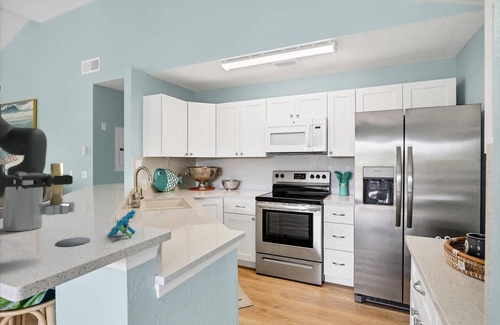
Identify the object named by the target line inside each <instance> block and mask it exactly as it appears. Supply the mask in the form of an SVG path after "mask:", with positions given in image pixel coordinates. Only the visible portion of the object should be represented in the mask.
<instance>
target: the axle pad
mask: <svg viewBox="0 0 500 325" xmlns="http://www.w3.org/2000/svg"><path fill="white" fill-rule="evenodd" d="M90 242H91V238H89V237H81V236H80V237H70V238H65V239H61V240H58V241H57V242H56V243H55V245H56V246H58V247H64V248H65V247H67V248H68V247H77V246H81V245H85V244H87V243H90Z"/></svg>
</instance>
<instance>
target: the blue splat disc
mask: <svg viewBox="0 0 500 325" xmlns="http://www.w3.org/2000/svg"><path fill="white" fill-rule="evenodd" d="M136 213H137V211H136V210H135V209H132V210H131V211H128V212H127V213H126V214H125V215H124V216H122V217H121V219H120V220H118V221H117V222H116V223H115V226H113V227H112V228H111V229H110V231H109V232H108V235H109V236H110V237H113V236H115V235H117V234H118V232H119V231H120V232H121V234H122V235H124V234H125V235H126V236H127V237H128V238H133V235H134V234H135V233H136V230H134V229H133V228H132V227H131V226H130V224H129V222H130V219H133V218H134V217H135V214H136ZM129 232H130V233H131V234H130V233H129Z"/></svg>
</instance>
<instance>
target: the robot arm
mask: <svg viewBox="0 0 500 325" xmlns="http://www.w3.org/2000/svg"><path fill="white" fill-rule="evenodd" d="M47 147H48V140H47V135H46V134H45V132H44V131H43V130H42V129H40V128H36V127H17V126H13V125H12V124H10V123H9V122H7V121H6V120H5V119H4V117H2V107H1V105H0V148H1V150H2V151H4V152H5V153H7V154H10V155H12V156H19V157H21V156H23V159H22V161H21V162H19V163H17V164H15V165H12V166H10V167H8V168H7V171H6V166H5V164H3V163H0V199H2V198H4V197H5V195H6V199H5V200H3V202H2V204H3V206H2V207H3V208H2V231H3V232H4V231H5V232H6V231H8V232H21V231H22V232H23V231H30V230H36V229H39V228H42V226H43V215H37V213H36V210H37V205H38V204H43V199H44V198H43V194H44V193H43V192H44V188H50V186H54V185H63V186H64V185H65V186H66V185H72V184H73V182H74V181H73V178H74V176H73V175H71V174H63V176H54V175H50V174H51V173H44V171H45V168H46V163H47V162H46V161H47V160H46V159H47V158H46V157H47V149H48V148H47ZM6 172H7V173H6ZM5 191H6V192H5Z"/></svg>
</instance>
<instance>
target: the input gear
mask: <svg viewBox="0 0 500 325" xmlns="http://www.w3.org/2000/svg"><path fill="white" fill-rule="evenodd" d="M49 174H50V175H54V176H63V175H64V163H56V162H55V163H50V173H49ZM49 188H50V189H49V202H45V203H42V204H38V205H37V210H36V213H37V215H42V216H45V215H46V216H55V215H67V214H69V213H74V212H76V203H75V202H73V201H67V202H66V201H64V185H54V186H50V187H49Z"/></svg>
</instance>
